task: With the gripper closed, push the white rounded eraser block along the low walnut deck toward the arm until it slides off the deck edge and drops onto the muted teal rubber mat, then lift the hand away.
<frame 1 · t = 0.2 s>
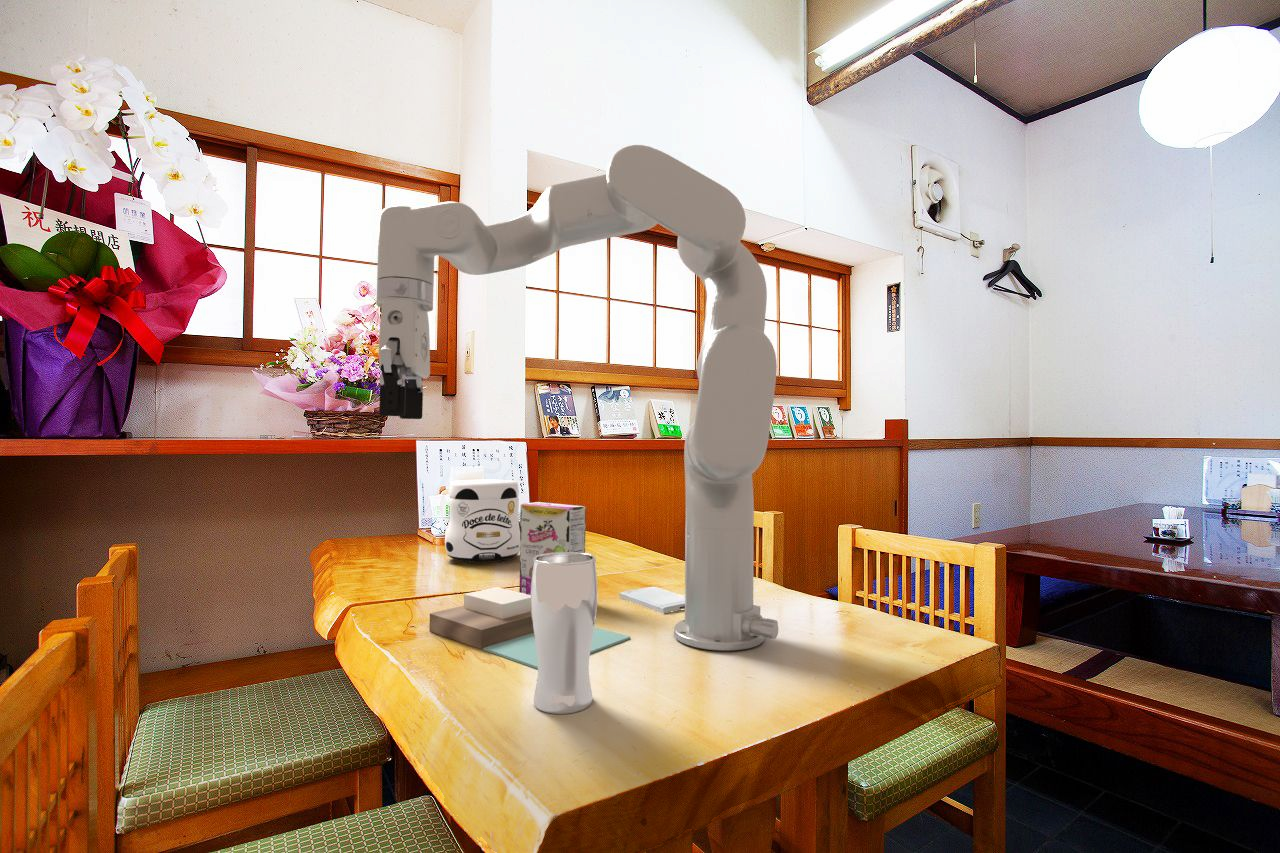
hand: (402, 417, 87), 30 cm above the table, tool pointing down, fingers open, 9 cm apart
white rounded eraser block: (499, 608, 91), point 2 cm above the table, touching deck
candy bar box: (551, 601, 106), on the table
beer glass: (563, 703, 64), on the table
mat: (559, 644, 82), on the table
hard drive: (659, 606, 105), on the table
deck: (501, 626, 90), on the table
doce de leite container: (483, 560, 142), on the table
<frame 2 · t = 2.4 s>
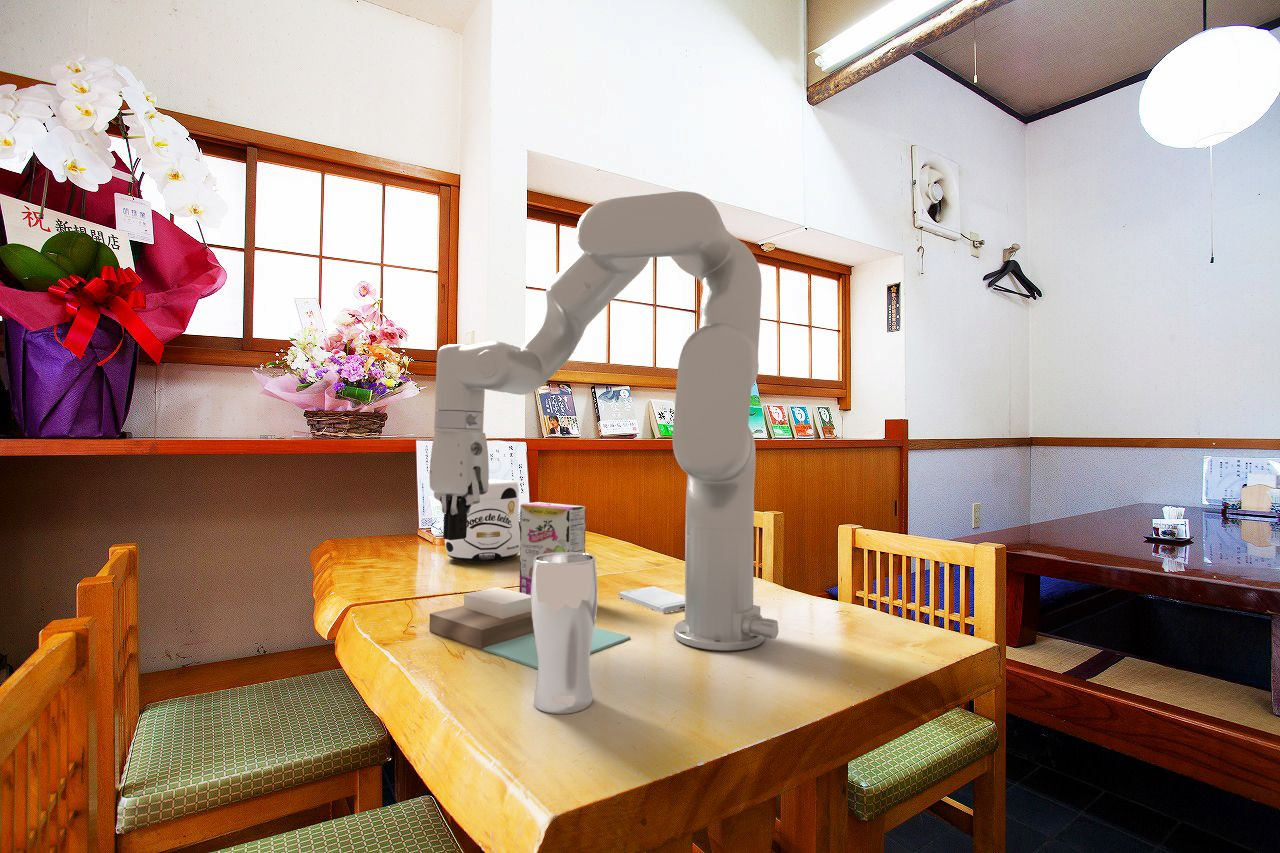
hand: (454, 538, 98), 12 cm above the table, tool pointing down, fingers closed
nothing on the table moved.
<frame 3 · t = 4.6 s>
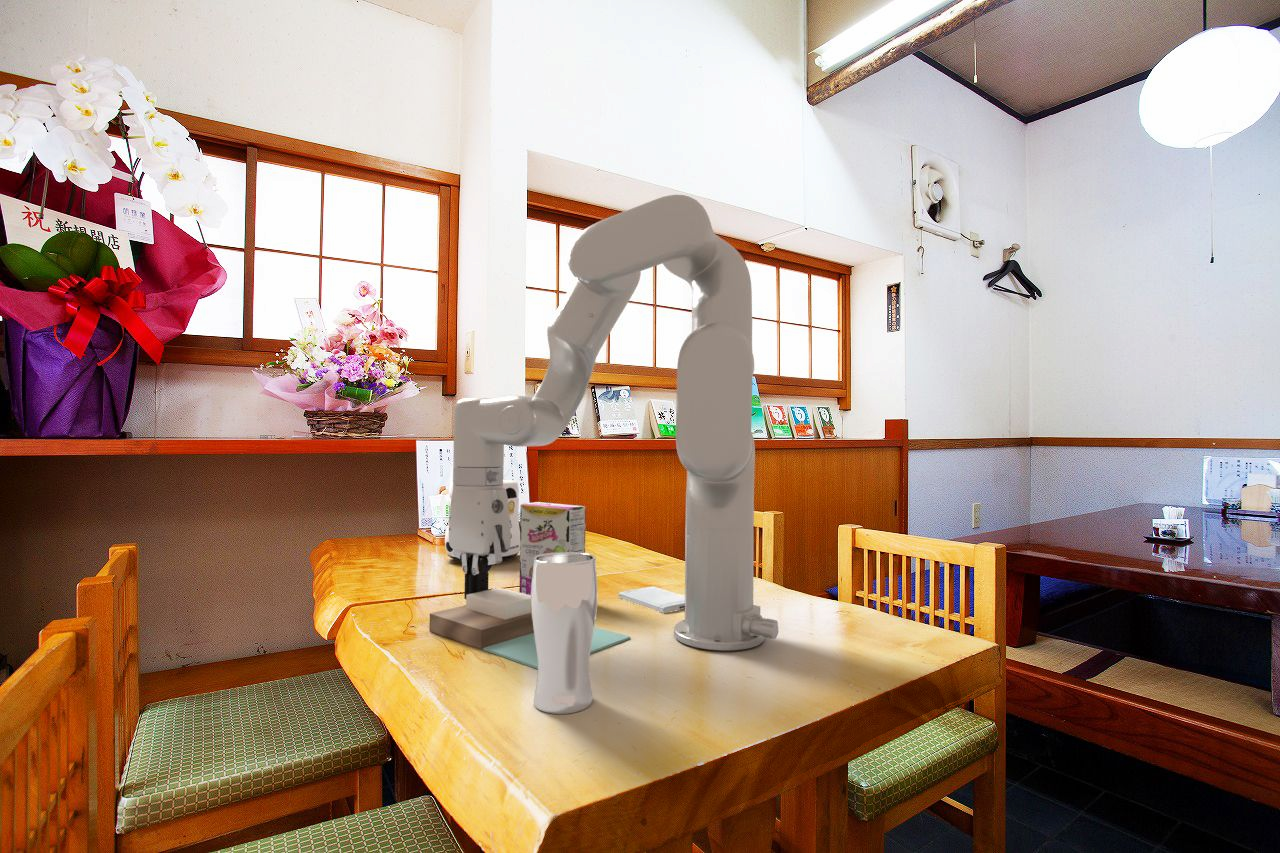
hand: (476, 598, 94), 3 cm above the table, tool pointing down, fingers closed
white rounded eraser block: (501, 609, 90), point 3 cm above the table, touching gripper
everything else where it was.
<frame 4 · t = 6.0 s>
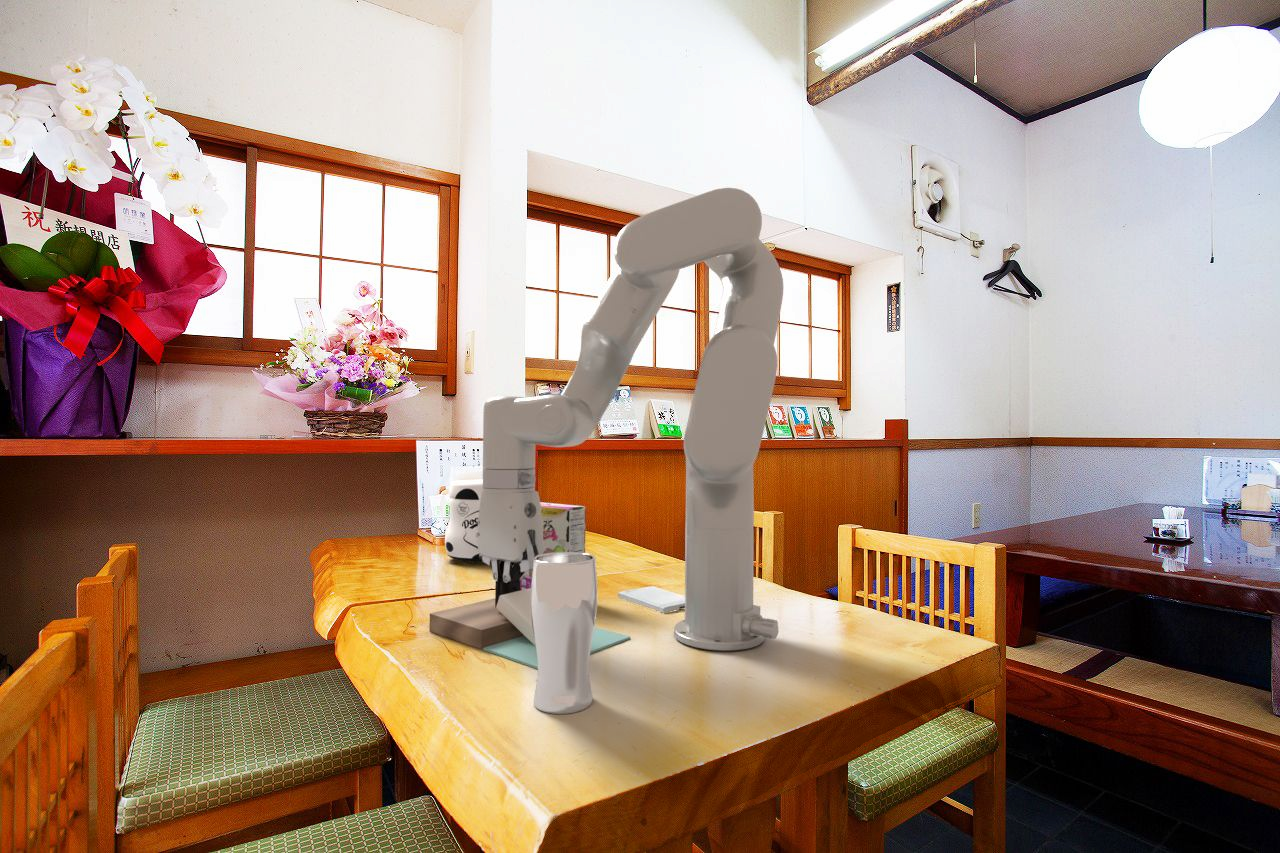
hand: (507, 607, 89), 3 cm above the table, tool pointing down, fingers closed
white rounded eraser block: (531, 621, 86), point 2 cm above the table, tilted 23°, touching deck, gripper, mat
everything else where it was.
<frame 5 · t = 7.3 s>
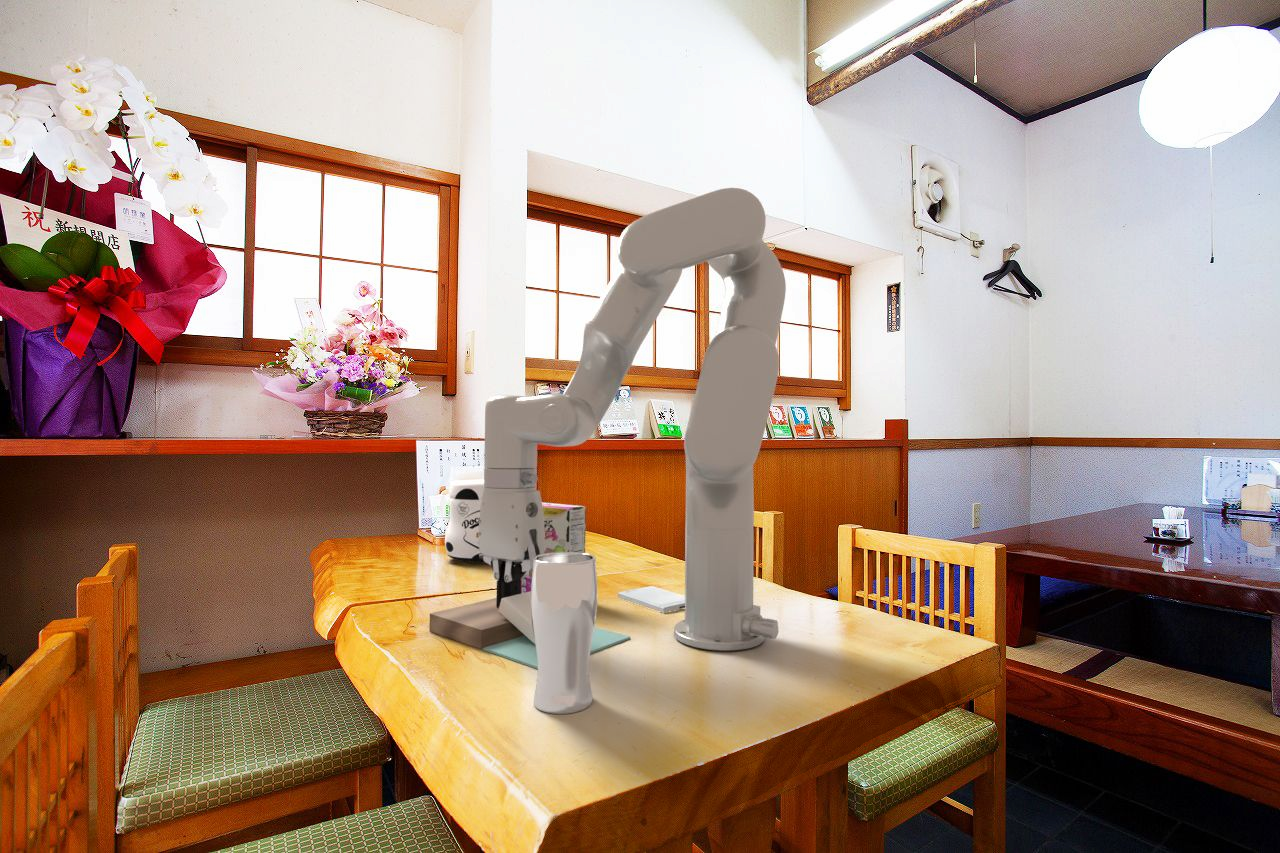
hand: (508, 607, 89), 3 cm above the table, tool pointing down, fingers closed
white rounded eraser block: (534, 623, 85), point 2 cm above the table, tilted 21°, touching deck, mat
everything else where it was.
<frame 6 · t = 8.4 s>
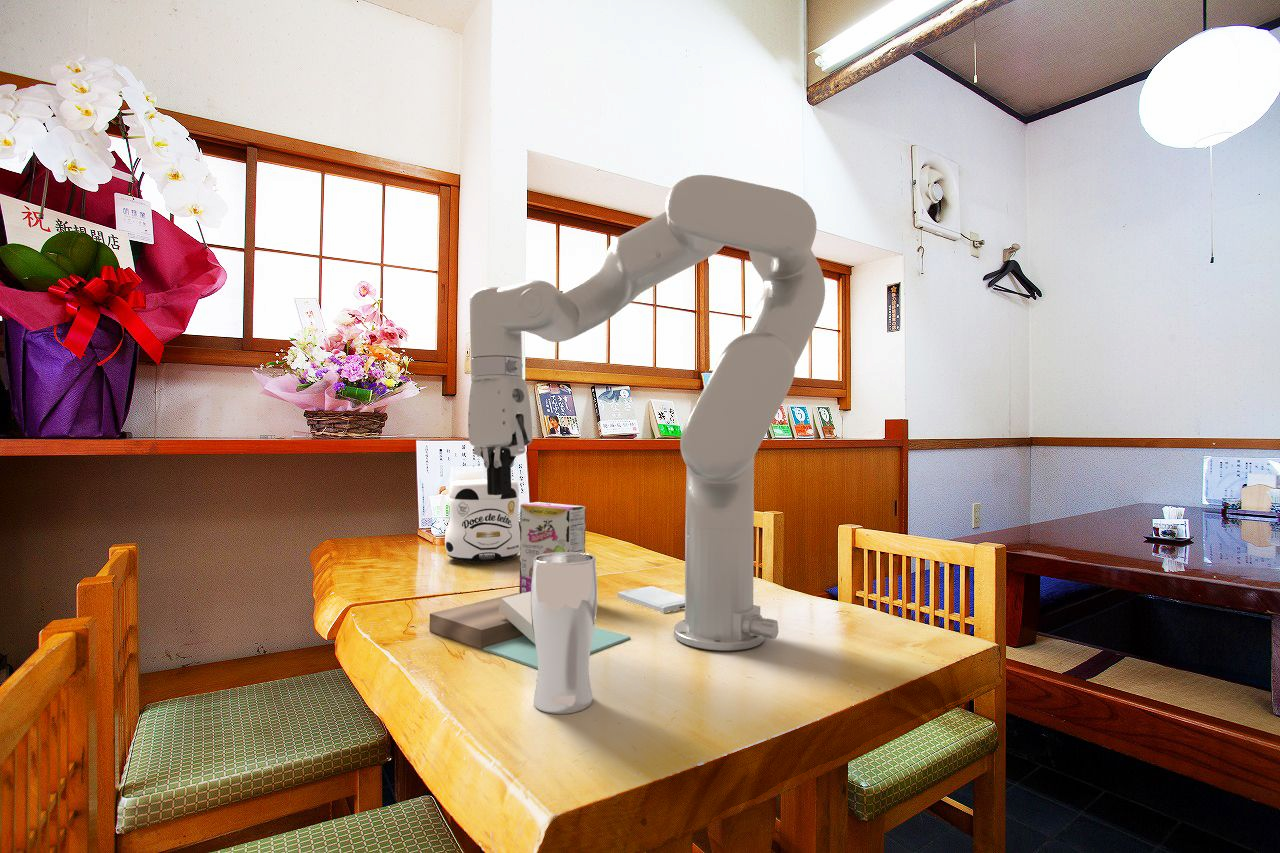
hand: (499, 494, 92), 19 cm above the table, tool pointing down, fingers closed
nothing on the table moved.
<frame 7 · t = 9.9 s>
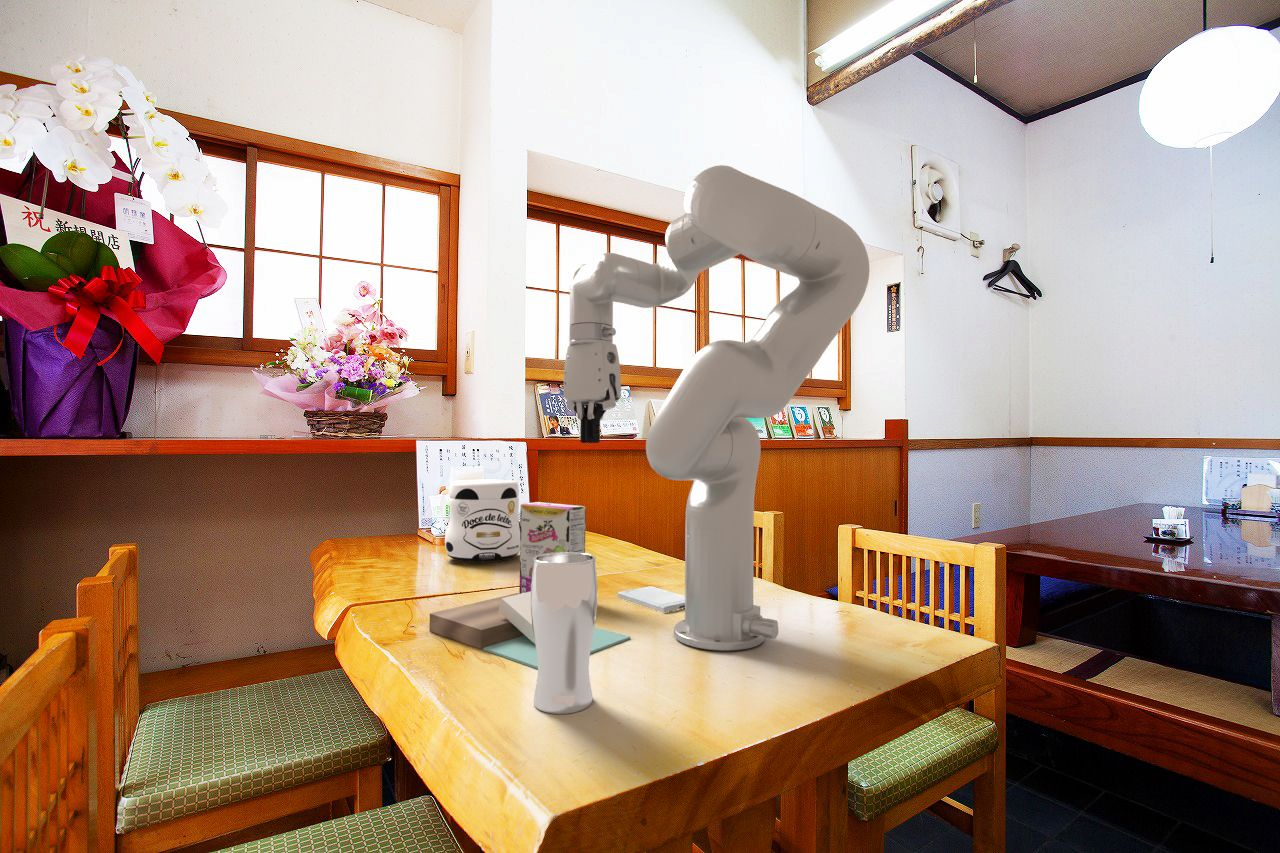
hand: (590, 442, 107), 27 cm above the table, tool pointing down, fingers closed
nothing on the table moved.
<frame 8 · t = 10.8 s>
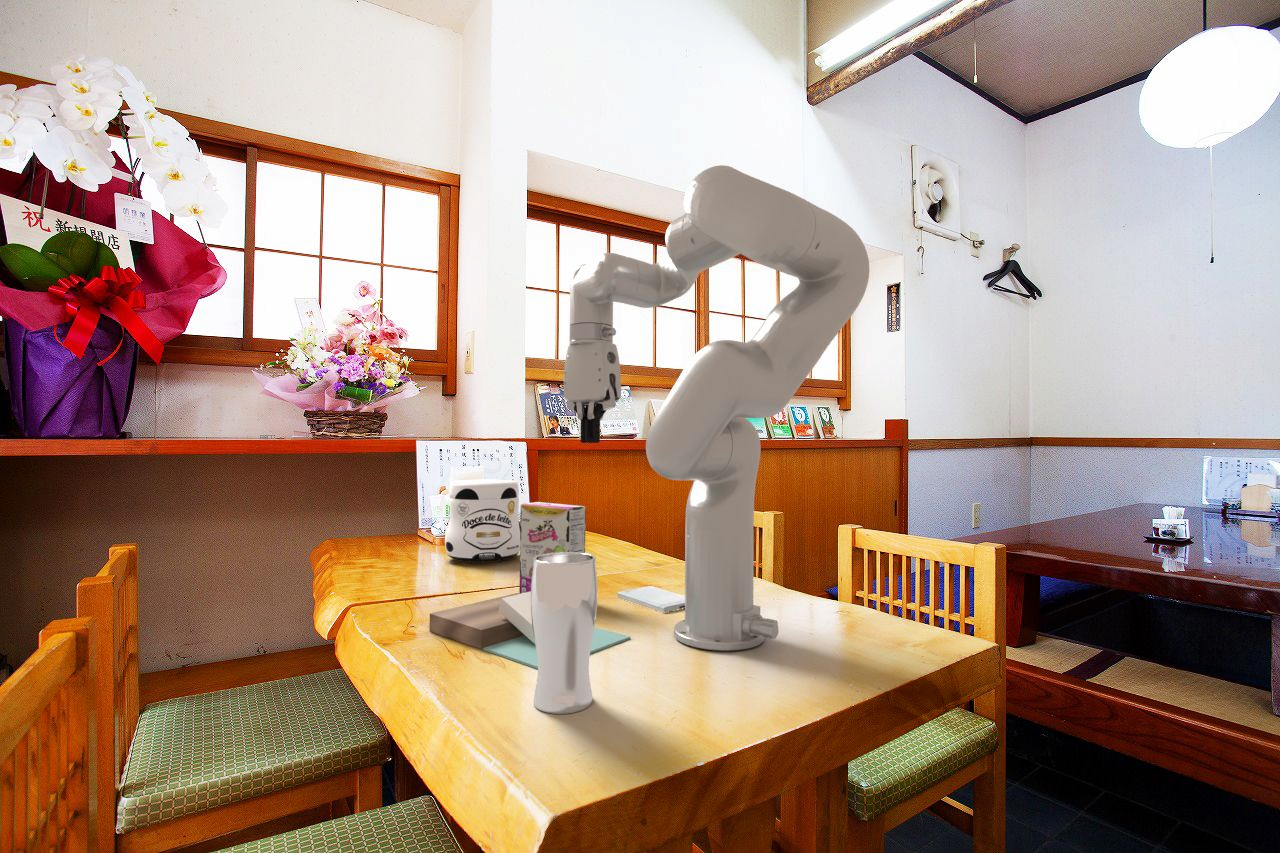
hand: (590, 442, 107), 27 cm above the table, tool pointing down, fingers closed
nothing on the table moved.
at the end: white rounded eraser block inside the target area on the mat (4.7 cm from its centre), point 1.9 cm above the mat's base; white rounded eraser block point 1.9 cm above the table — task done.
